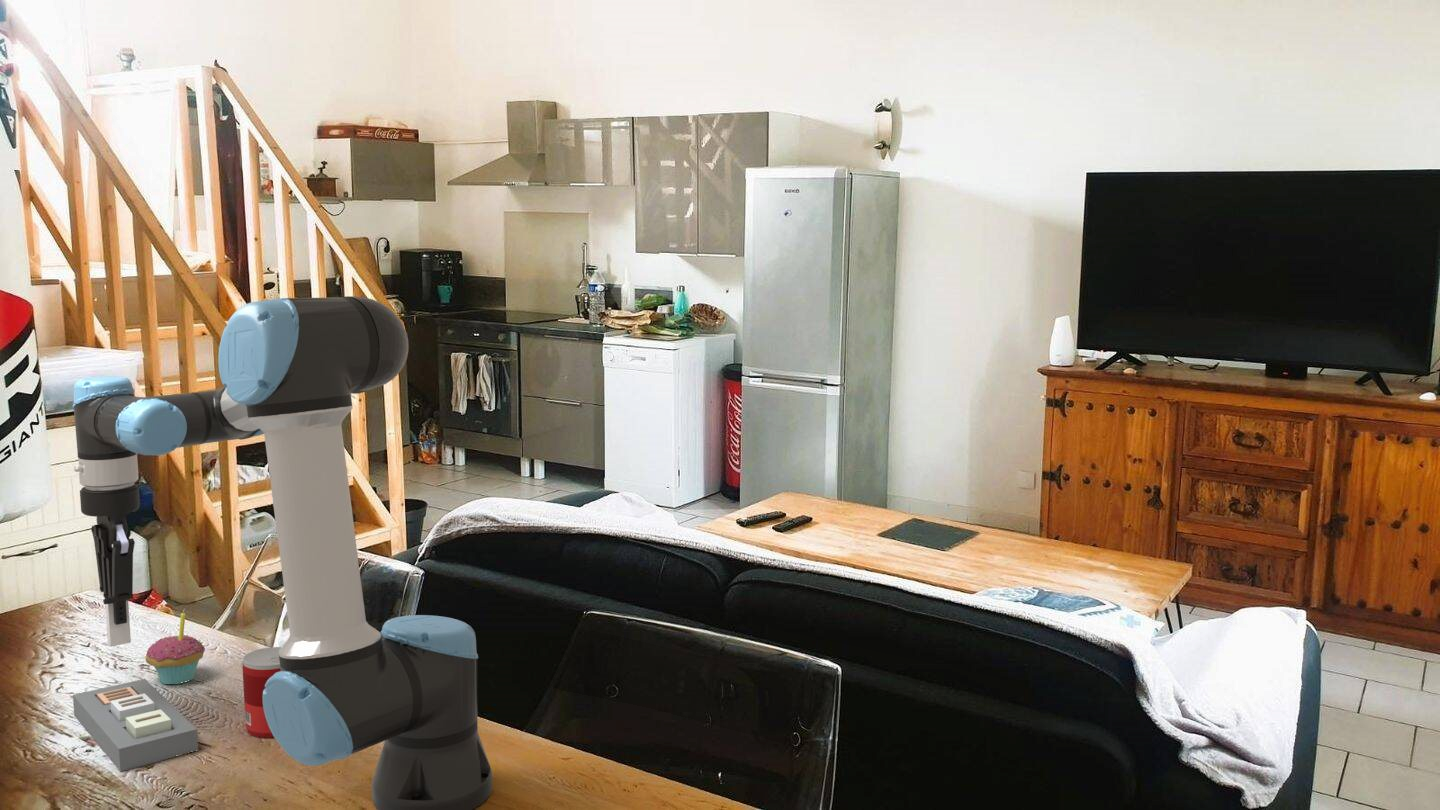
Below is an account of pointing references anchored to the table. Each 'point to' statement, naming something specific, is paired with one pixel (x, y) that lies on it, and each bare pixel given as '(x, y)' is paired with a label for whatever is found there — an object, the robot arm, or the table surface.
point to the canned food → (258, 687)
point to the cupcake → (175, 656)
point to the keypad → (120, 742)
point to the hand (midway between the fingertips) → (119, 643)
